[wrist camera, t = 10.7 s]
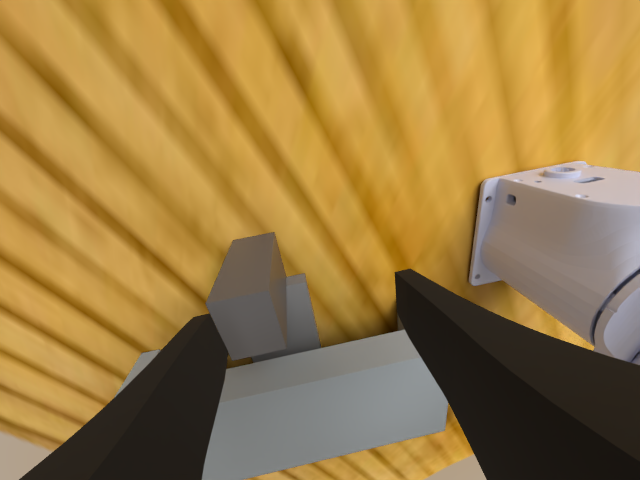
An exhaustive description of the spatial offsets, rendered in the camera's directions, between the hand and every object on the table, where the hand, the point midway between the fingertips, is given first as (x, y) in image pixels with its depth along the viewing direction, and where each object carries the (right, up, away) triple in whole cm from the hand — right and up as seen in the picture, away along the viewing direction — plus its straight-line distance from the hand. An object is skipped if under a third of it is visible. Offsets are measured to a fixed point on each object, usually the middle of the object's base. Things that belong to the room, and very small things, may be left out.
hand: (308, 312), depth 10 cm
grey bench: (-2, -9, +14) cm, 17 cm away
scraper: (-3, -6, +13) cm, 15 cm away
